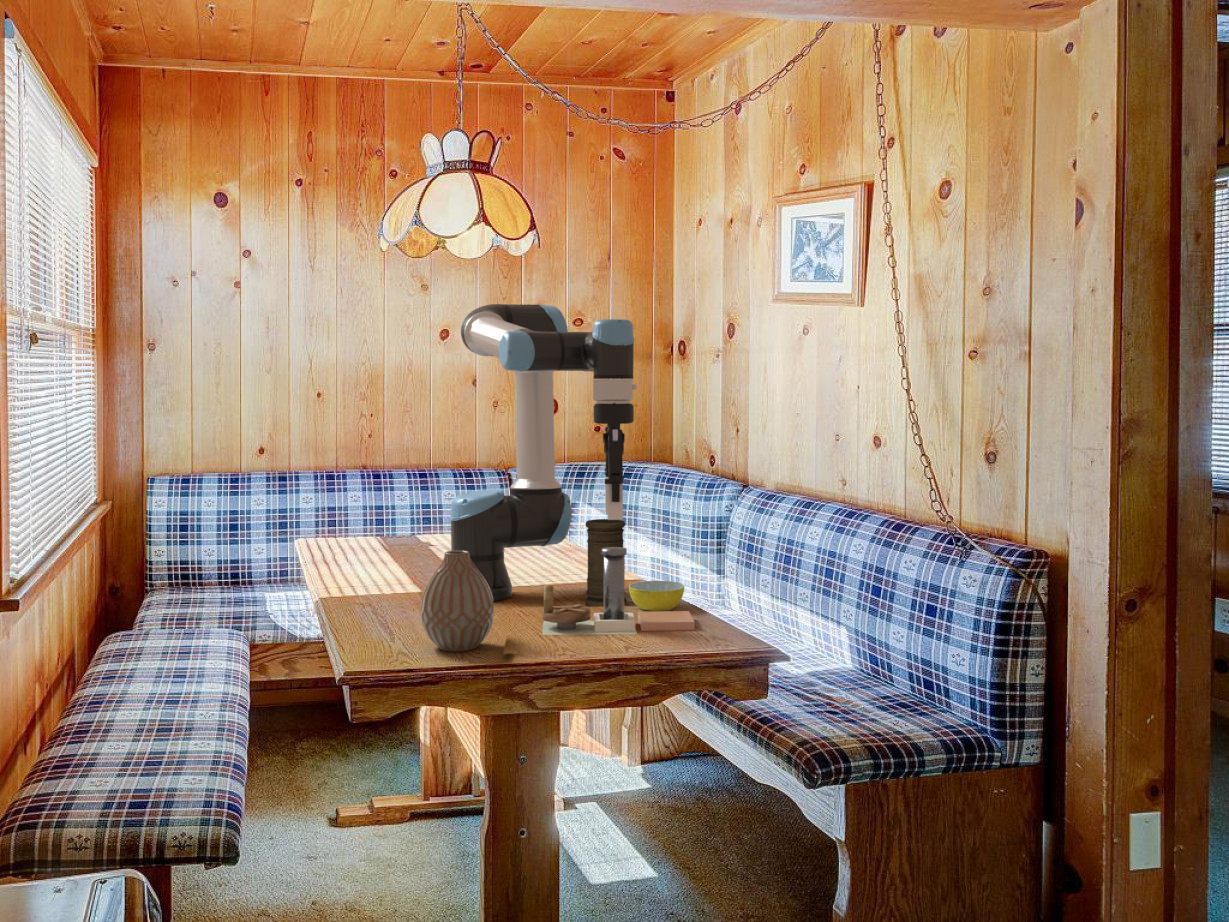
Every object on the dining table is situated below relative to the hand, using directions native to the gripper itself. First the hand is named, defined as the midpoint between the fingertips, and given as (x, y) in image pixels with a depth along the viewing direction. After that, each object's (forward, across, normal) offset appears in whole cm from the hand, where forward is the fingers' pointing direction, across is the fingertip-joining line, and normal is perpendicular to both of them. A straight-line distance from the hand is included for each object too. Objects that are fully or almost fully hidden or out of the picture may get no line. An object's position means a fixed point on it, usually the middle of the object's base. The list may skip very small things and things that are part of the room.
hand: (613, 515), depth 225 cm
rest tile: (+23, +2, -10) cm, 25 cm away
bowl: (+23, +18, -9) cm, 31 cm away
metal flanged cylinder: (+21, 0, 0) cm, 21 cm away
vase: (+23, -9, +29) cm, 38 cm away
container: (+23, +30, +1) cm, 38 cm away
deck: (+23, 0, +5) cm, 23 cm away
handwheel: (+20, 0, +9) cm, 21 cm away
